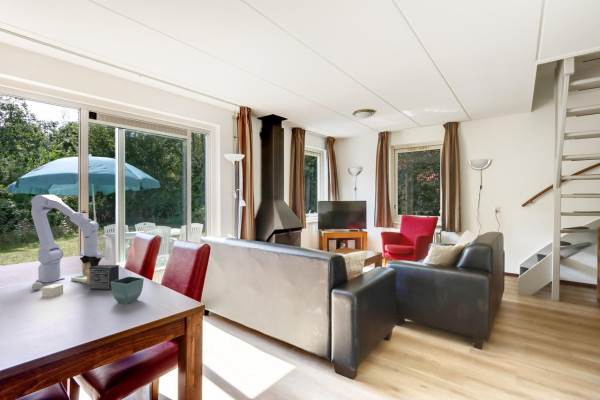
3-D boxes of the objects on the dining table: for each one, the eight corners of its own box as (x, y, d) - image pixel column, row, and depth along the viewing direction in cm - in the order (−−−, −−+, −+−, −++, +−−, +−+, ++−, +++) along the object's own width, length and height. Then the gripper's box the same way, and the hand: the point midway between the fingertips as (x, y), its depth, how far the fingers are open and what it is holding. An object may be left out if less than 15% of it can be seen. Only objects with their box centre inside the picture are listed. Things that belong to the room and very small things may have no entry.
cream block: (42, 296, 128) (42, 287, 128) (52, 293, 133) (52, 284, 133) (53, 297, 128) (53, 288, 128) (63, 293, 133) (63, 284, 133)
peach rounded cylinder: (85, 284, 145) (84, 274, 145) (94, 282, 149) (94, 272, 149) (90, 285, 143) (90, 275, 143) (99, 283, 147) (99, 273, 147)
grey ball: (30, 290, 136) (29, 282, 136) (39, 288, 139) (39, 280, 139) (34, 291, 134) (34, 283, 134) (44, 289, 138) (43, 281, 138)
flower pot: (144, 299, 125) (144, 278, 125) (126, 306, 117) (126, 284, 117) (129, 296, 128) (128, 276, 128) (110, 303, 120) (109, 281, 119)
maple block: (82, 275, 152) (82, 263, 152) (91, 272, 157) (91, 261, 156) (88, 276, 151) (87, 264, 150) (97, 273, 155) (96, 262, 155)
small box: (120, 286, 142) (119, 264, 142) (110, 290, 136) (109, 268, 136) (99, 285, 143) (99, 264, 143) (88, 289, 137) (88, 267, 137)
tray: (71, 280, 151) (71, 277, 151) (95, 274, 162) (95, 271, 162) (86, 283, 146) (86, 280, 146) (110, 277, 157) (110, 273, 157)
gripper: (73, 244, 153) (73, 271, 153) (91, 246, 147) (92, 273, 148) (87, 242, 159) (88, 267, 160) (105, 244, 154) (106, 270, 154)
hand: (91, 270), depth 154 cm, fingers closed on maple block, 4 cm apart
